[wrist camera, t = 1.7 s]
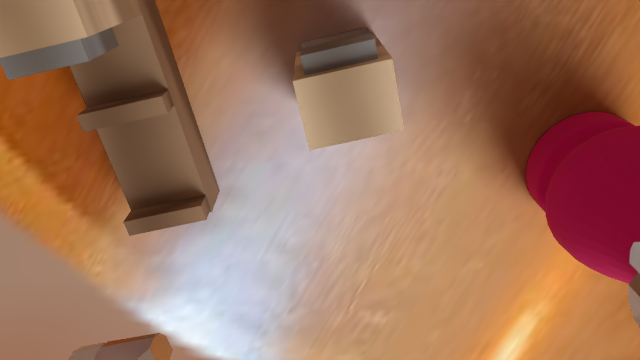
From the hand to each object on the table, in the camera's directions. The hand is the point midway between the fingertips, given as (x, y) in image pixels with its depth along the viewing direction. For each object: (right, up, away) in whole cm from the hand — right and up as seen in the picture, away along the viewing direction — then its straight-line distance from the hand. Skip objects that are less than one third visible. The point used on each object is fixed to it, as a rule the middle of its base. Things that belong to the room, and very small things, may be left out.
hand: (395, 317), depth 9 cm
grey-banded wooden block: (0, +8, +17) cm, 19 cm away
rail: (-10, +8, +17) cm, 21 cm away
